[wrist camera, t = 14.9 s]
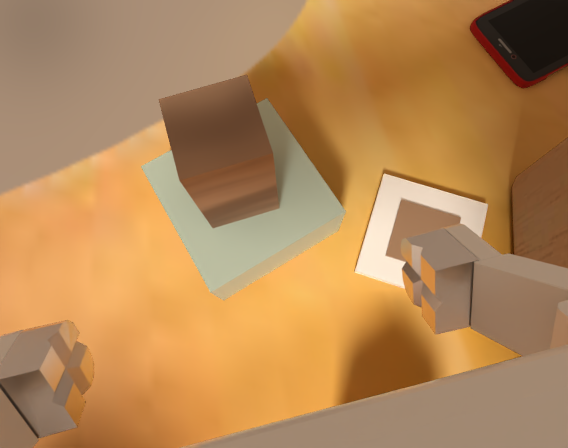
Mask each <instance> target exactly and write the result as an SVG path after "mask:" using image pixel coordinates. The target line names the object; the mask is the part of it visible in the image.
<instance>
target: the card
mask: <svg viewBox="0 0 568 448" xmlns="http://www.w3.org/2000/svg"><path fill="white" fill-rule="evenodd" d="M487 208H488V204H486V203H482V202H479V201H475V200H472V199H469V198H465V197H462V196H459V195H455V194H452V193H448V192H445V191H442V190H438V189H435V188H432V187H428V186H425V185H421V184H418V183H415V182H411V181H408V180H405V179H401V178H398V177H394V176H391V175H388V174H384V175H383V177H382V180H381V184H380V187H379V190H378V194H377V197H376V200H375V204H374V207H373V211H372V214H371V217H370V221H369V224H368V227H367V231H366V234H365V238H364V241H363V244H362V248H361V251H360V254H359V258H358V261H357V265H356V268H355V271H354V272H355V273H358V274H361V275H364V276H367V277H370V278H373V279H376V280H379V281H382V282H385V283H388V284H391V285H394V286H398V287H401V288H404V289H405V286H404V282H403V277H402V267H403V266H404V264H405V263H406V259H405V258H404V257H403V256H402V254H401V241H402V239H405V238H408V237H412V236H416V235H420V234H424V233H427V232H431V231H435V230H439V229H441V228H445V227H449V226H452V225H456V224H459V223H460V224H464V225H466V226H467V227H468V228H469V229H471V230H472V231H473V232H474V233H476V234H477V235H478V236H479V237H481V236H482V231H483V227H484V222H485V217H486V213H487Z"/></svg>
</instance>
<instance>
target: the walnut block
mask: <svg viewBox="0 0 568 448" xmlns="http://www.w3.org/2000/svg"><path fill="white" fill-rule="evenodd" d="M159 103H160V107H161V111H162V114H163V118H164V122H165V126H166V130H167V134H168V138H169V142H170V146H171V150H172V154H173V158H174V162H175V166H176V170H177V173H178V177H179V181H180V182H181V184H182V185H183V187H184V188H185V189H186V191H187V192H188V194H189V195H190V197H191V198H192V199H193V201H194V202H195V204H196V205H197V207H198V208H199V209H200V211H201V212H202V214H203V215H204V217H205V218H206V219H207V221H208V222H209V224H210V225H211V227H212V228H216V227H220V226H223V225H226V224H229V223H233V222H236V221H239V220H243V219H246V218H249V217H253V216H256V215H259V214H263V213H266V212H269V211H272V210H276V209H279V201H278V192H277V183H276V174H275V166H274V157H273V151H272V148H271V145H270V142H269V139H268V136H267V133H266V130H265V127H264V124H263V121H262V118H261V115H260V112H259V109H258V106H257V103H256V100H255V97H254V94H253V91H252V88H251V85H250V82H249V79H248V76H247V75H244V76H240V77H237V78H233V79H230V80H226V81H223V82H219V83H216V84H212V85H208V86H205V87H202V88H198V89H194V90H191V91H187V92H184V93H180V94H176V95H173V96H169V97H165V98H162V99H159Z"/></svg>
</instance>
